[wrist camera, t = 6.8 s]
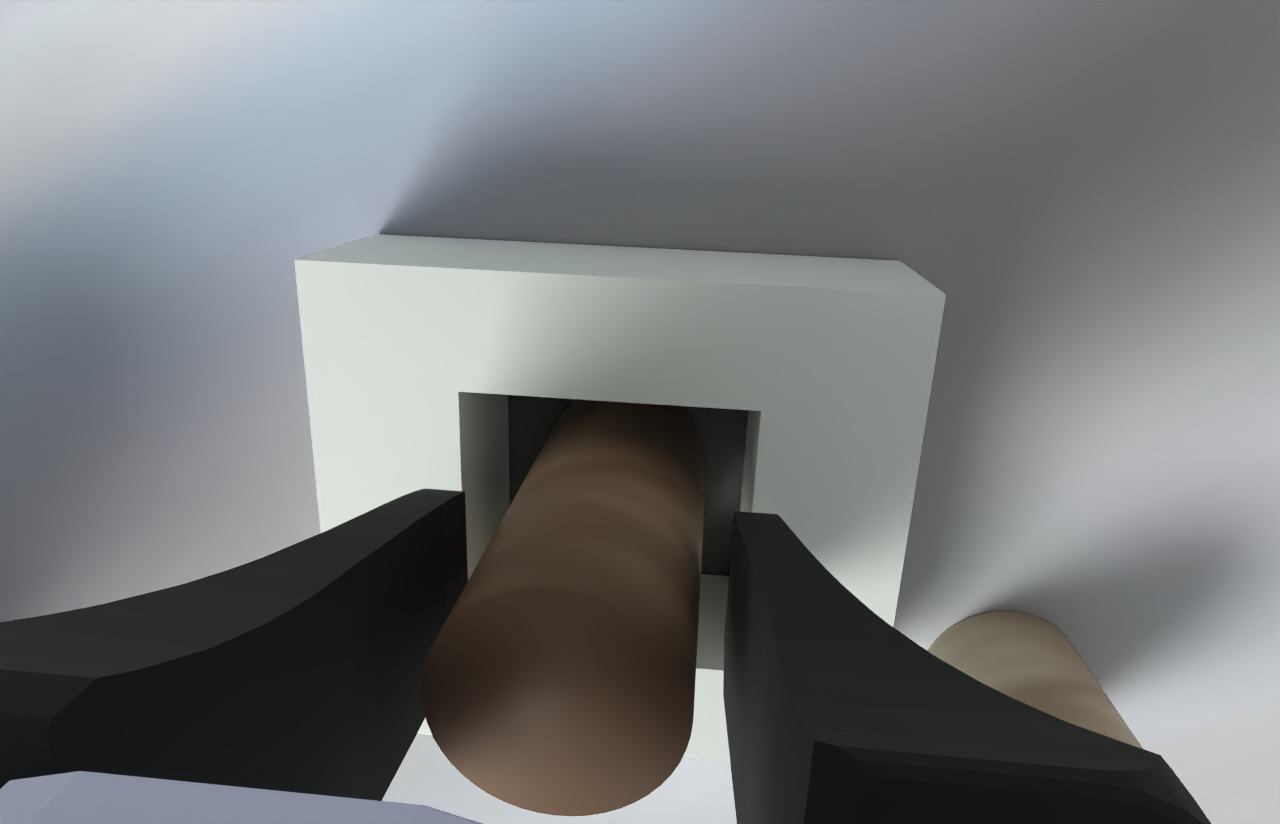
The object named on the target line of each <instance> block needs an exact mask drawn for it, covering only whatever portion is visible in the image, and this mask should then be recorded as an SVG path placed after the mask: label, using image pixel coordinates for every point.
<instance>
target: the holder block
mask: <svg viewBox="0 0 1280 824" xmlns="http://www.w3.org/2000/svg"><path fill="white" fill-rule="evenodd" d="M294 262H295V273H296V283H297V293H298V304H299V314H300V324H301V335H302V345H303V356H304V366H305V376H306V387H307V397H308V407H309V418H310V428H311V439H312V449H313V459H314V470H315V480H316V490H317V501H318V511H319V521H320V532H321V533H323V532H325V531H327V530H330V529H332V528H334V527H336V526H338V525H340V524H342V523H345V522H347V521H349V520H351V519H353V518H355V517H357V516H360V515H362V514H364V513H366V512H368V511H370V510H372V509H375V508H377V507H379V506H381V505H383V504H385V503H388V502H390V501H392V500H394V499H397V498H399V497H401V496H404V495H406V494H409V493H411V492H414V491H417V490H421V489H438V490H452V491H465V505H466V536H467V566H468V580H469V578H470V577H471V575H472V573H473V571H474V569H475V568H476V566H477V564H478V562H479V560H480V559H481V557H482V555H483V553H484V551H485V550H486V548H487V546H488V544H489V542H490V541H491V539H492V537H493V535H494V533H495V532H496V530H497V528H498V526H499V524H500V523H501V521H502V519H503V517H504V515H505V514H506V512H507V510H508V508H509V506H510V505H509V435H508V395H518V396H534V397H549V398H565V399H580V400H596V401H612V402H627V403H643V404H658V405H674V406H690V407H705V408H721V409H736V410H748V421H747V433H746V445H745V456H744V468H743V480H742V492H741V504H740V512H754V513H768V514H778V515H779V516H780V517H781V518H782V519H783V521H784V522H785V523H786V524H787V525H788V526H789V528H790V529H791V530H792V531H793V532H794V534H795V535H796V536H797V537H798V538H799V539H800V541H801V542H802V543H803V544H804V545H805V546H806V547H807V549H808V550H809V551H810V552H811V553H812V554H813V555H814V556H815V558H816V559H817V560H818V561H819V562H820V563H821V564H822V565H823V566H824V567H825V568H826V569H827V570H828V571H829V572H830V573H831V574H832V575H833V576H834V577H835V578H836V579H837V580H838V581H839V582H840V583H841V584H842V585H843V586H844V587H845V588H846V589H847V590H849V591H850V592H851V593H852V594H853V595H854V596H855V597H857V598H858V599H859V600H860V601H861V602H862V603H863V604H865V605H866V606H867V607H868V608H869V609H870V610H871V611H873V612H874V613H875V614H876V615H878V616H879V617H880V618H881V619H883V620H884V621H885V622H886V623H888V624H889V625H891V626H892V627H893V626H894V620H895V614H896V608H897V601H898V595H899V589H900V582H901V576H902V570H903V563H904V557H905V551H906V545H907V538H908V532H909V526H910V519H911V513H912V507H913V500H914V494H915V488H916V482H917V475H918V469H919V463H920V456H921V450H922V444H923V437H924V431H925V425H926V419H927V412H928V406H929V400H930V393H931V387H932V381H933V374H934V368H935V362H936V356H937V349H938V343H939V337H940V330H941V324H942V318H943V312H944V305H945V299H946V294H945V293H943V292H942V291H941V290H939V289H938V288H936V287H935V286H934V285H932V284H931V283H930V282H928V281H927V280H926V279H924V278H923V277H922V276H920V275H919V274H917V273H916V272H915V271H913V270H912V269H911V268H909V267H908V266H907V265H905V264H904V263H903V262H901V261H897V260H877V259H857V258H838V257H818V256H798V255H778V254H759V253H739V252H719V251H700V250H680V249H660V248H641V247H621V246H601V245H581V244H562V243H542V242H522V241H503V240H483V239H463V238H443V237H424V236H404V235H384V234H375V235H372V236H369V237H365V238H362V239H359V240H356V241H353V242H350V243H346V244H343V245H340V246H337V247H334V248H330V249H327V250H324V251H321V252H318V253H314V254H311V255H308V256H305V257H302V258H299V259H295V260H294ZM728 584H729V576H722V575H710V574H701V582H700V602H699V621H698V640H697V659H696V678H695V697H694V716H693V726H692V732H691V737H690V740H689V743H688V746H687V749H686V751H685V753H684V755H683V757H682V759H692V760H703V761H714V762H724V763H730V754H729V745H728V735H727V726H726V716H725V707H724V697H723V679H724V632H725V620H726V608H727V596H728ZM417 734H427V735H432V733H431V731H430V728H429V726H428V724H427V721H426V717H425V719H424V721H423V723H422V725H421V727H420V729H419V731H418V732H417Z"/></svg>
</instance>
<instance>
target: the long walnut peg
mask: <svg viewBox="0 0 1280 824" xmlns="http://www.w3.org/2000/svg"><path fill="white" fill-rule="evenodd" d="M706 468H707V457H706V450H705V446H704V442H703V439H702V436H701V434H700V432H699V429H698V428H697V426H696V424H695V423H694V421H693V420H692V418H691V417H690V416H689V415H688V413H687V412H686V411H685V410H684V409H683V408H682V407H681V406H674V405H658V404H643V403H627V402H612V401H596V400H580V399H577V400H576V401H574V402H573V403H572V404H571V405H570V406H569V407H568V408H567V409H566V410H565V411H564V412H563V413H562V414H561V416H560V417H559V418H558V420H557V422H556V424H555V425H554V427H553V429H552V431H551V433H550V434H549V436H548V438H547V440H546V442H545V443H544V445H543V447H542V449H541V451H540V452H539V454H538V456H537V458H536V460H535V461H534V463H533V465H532V467H531V469H530V470H529V472H528V474H527V476H526V478H525V479H524V481H523V483H522V485H521V487H520V488H519V490H518V492H517V494H516V496H515V497H514V499H513V501H512V503H511V505H510V506H509V508H508V510H507V512H506V514H505V515H504V517H503V519H502V521H501V523H500V524H499V526H498V528H497V530H496V532H495V533H494V535H493V537H492V539H491V541H490V542H489V544H488V546H487V548H486V550H485V551H484V553H483V555H482V557H481V559H480V560H479V562H478V564H477V566H476V568H475V569H474V571H473V573H472V575H471V577H470V578H469V580H468V582H467V584H466V586H465V587H464V589H463V591H462V593H461V595H460V596H459V598H458V600H457V602H456V604H455V605H454V607H453V609H452V611H451V613H450V614H449V616H448V618H447V620H446V622H445V623H444V625H443V627H442V629H441V631H440V632H439V634H438V636H437V638H436V640H435V641H434V643H433V645H432V647H431V649H430V651H429V653H428V656H427V659H426V662H425V664H424V669H423V675H422V684H421V696H422V704H423V710H424V714H425V717H426V721H427V724H428V726H429V728H430V731H431V733H432V735H433V738H434V739H435V741H436V743H437V744H438V746H439V747H440V749H441V751H442V752H443V753H444V755H445V756H446V757H447V758H448V760H449V761H450V762H451V763H452V764H453V765H454V766H455V767H456V768H457V769H458V770H459V771H460V772H461V773H462V774H463V775H464V776H465V777H466V778H467V779H469V780H470V781H471V782H472V783H474V784H475V785H476V786H478V787H479V788H481V789H482V790H484V791H486V792H487V793H489V794H490V795H492V796H494V797H496V798H498V799H500V800H502V801H504V802H507V803H509V804H512V805H515V806H517V807H520V808H523V809H527V810H531V811H534V812H538V813H544V814H551V815H561V816H584V815H593V814H599V813H605V812H609V811H612V810H616V809H620V808H622V807H625V806H627V805H629V804H632V803H634V802H636V801H638V800H640V799H641V798H643V797H645V796H647V795H648V794H650V793H651V792H652V791H654V790H655V789H656V788H658V787H659V786H660V785H661V784H662V783H663V782H664V781H665V780H666V779H667V778H668V777H669V776H670V775H671V774H672V773H673V771H674V770H675V768H676V767H677V766H678V764H679V763H680V761H681V759H682V757H683V755H684V753H685V751H686V749H687V746H688V743H689V740H690V737H691V732H692V726H693V716H694V697H695V678H696V659H697V640H698V621H699V602H700V582H701V563H702V544H703V525H704V506H705V487H706Z"/></svg>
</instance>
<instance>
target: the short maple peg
mask: <svg viewBox="0 0 1280 824" xmlns="http://www.w3.org/2000/svg"><path fill="white" fill-rule="evenodd" d="M928 652H930V653H931V654H933V655H934V656H936V657H938V658H939V659H941V660H943V661H944V662H946V663H948V664H950V665H951V666H953V667H955V668H957V669H958V670H960V671H962V672H964V673H965V674H967V675H969V676H971V677H972V678H974V679H976V680H978V681H980V682H982V683H983V684H985V685H987V686H989V687H991V688H993V689H995V690H997V691H999V692H1001V693H1003V694H1005V695H1007V696H1009V697H1011V698H1014V699H1016V700H1018V701H1020V702H1023V703H1025V704H1027V705H1029V706H1032V707H1034V708H1036V709H1038V710H1041V711H1043V712H1045V713H1047V714H1050V715H1052V716H1054V717H1056V718H1059V719H1061V720H1064V721H1066V722H1069V723H1071V724H1074V725H1077V726H1079V727H1082V728H1085V729H1088V730H1091V731H1093V732H1096V733H1099V734H1102V735H1105V736H1107V737H1110V738H1113V739H1116V740H1119V741H1121V742H1124V743H1127V744H1130V745H1133V746H1135V747H1138V748H1141V749H1143V748H1142V746H1141V745H1140V744H1139V742H1138V741H1137V739H1136V738H1135V736H1134V735H1133V733H1132V732H1131V730H1130V729H1129V727H1128V726H1127V725H1126V723H1125V722H1124V720H1123V719H1122V717H1121V716H1120V714H1119V713H1118V711H1117V710H1116V708H1115V707H1114V706H1113V704H1112V703H1111V701H1110V700H1109V698H1108V697H1107V695H1106V694H1105V692H1104V691H1103V689H1102V688H1101V687H1100V685H1099V684H1098V682H1097V681H1096V679H1095V678H1094V676H1093V675H1092V673H1091V672H1090V670H1089V669H1088V667H1087V666H1086V665H1085V663H1084V662H1083V660H1082V659H1081V657H1080V656H1079V654H1078V653H1077V651H1076V650H1075V648H1074V647H1073V646H1072V644H1071V643H1070V641H1069V640H1068V639H1067V637H1066V636H1065V635H1064V634H1063V633H1062V632H1061V631H1060V630H1059V629H1058V628H1057V627H1055V626H1054V625H1052V624H1051V623H1049V622H1048V621H1046V620H1044V619H1042V618H1039V617H1037V616H1034V615H1031V614H1027V613H1023V612H1017V611H992V612H986V613H981V614H978V615H974V616H971V617H969V618H966V619H964V620H962V621H960V622H958V623H956V624H955V625H953V626H951V627H950V628H949V629H947V630H946V631H945V632H943V633H942V634H941V635H940V636H939V637H938V638H937V639H936V640H935V642H934V643H933V644H932V645H931V647H930V648H929V650H928Z"/></svg>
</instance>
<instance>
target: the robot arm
mask: <svg viewBox="0 0 1280 824" xmlns="http://www.w3.org/2000/svg"><path fill="white" fill-rule="evenodd" d="M467 582H468V566H467V536H466V505H465V491H452V490H438V489H421V490H417V491H414V492H411V493H409V494H406V495H404V496H401V497H399V498H397V499H394V500H392V501H390V502H388V503H385V504H383V505H381V506H379V507H377V508H375V509H372V510H370V511H368V512H366V513H364V514H362V515H360V516H357V517H355V518H353V519H351V520H349V521H347V522H345V523H342V524H340V525H338V526H336V527H334V528H332V529H330V530H327V531H325V532H323V533H321V534H318V535H316V536H313V537H311V538H309V539H306V540H304V541H301V542H299V543H297V544H294V545H292V546H290V547H287V548H285V549H282V550H280V551H278V552H275V553H273V554H270V555H268V556H266V557H263V558H260V559H258V560H255V561H252V562H250V563H247V564H244V565H241V566H238V567H236V568H233V569H230V570H227V571H224V572H221V573H218V574H214V575H211V576H208V577H205V578H202V579H199V580H196V581H192V582H189V583H186V584H182V585H179V586H175V587H171V588H167V589H163V590H159V591H155V592H151V593H147V594H143V595H139V596H134V597H130V598H126V599H122V600H118V601H114V602H110V603H106V604H102V605H97V606H92V607H88V608H82V609H77V610H72V611H66V612H61V613H56V614H51V615H45V616H38V617H32V618H26V619H20V620H14V621H7V622H1V623H0V824H482V823H479V822H475V821H472V820H469V819H466V818H463V817H459V816H456V815H453V814H450V813H447V812H443V811H440V810H437V809H434V808H431V807H427V806H424V805H415V804H405V803H395V802H385V801H382V799H383V797H384V795H385V793H386V791H387V789H388V787H389V785H390V783H391V782H392V780H393V778H394V776H395V774H396V772H397V770H398V768H399V766H400V765H401V763H402V761H403V759H404V757H405V755H406V753H407V751H408V749H409V748H410V746H411V744H412V742H413V740H414V738H415V736H416V734H417V732H418V731H419V729H420V727H421V725H422V723H423V721H424V719H425V714H424V710H423V704H422V696H421V684H422V675H423V669H424V664H425V662H426V659H427V656H428V653H429V651H430V649H431V647H432V645H433V643H434V641H435V640H436V638H437V636H438V634H439V632H440V631H441V629H442V627H443V625H444V623H445V622H446V620H447V618H448V616H449V614H450V613H451V611H452V609H453V607H454V605H455V604H456V602H457V600H458V598H459V596H460V595H461V593H462V591H463V589H464V587H465V586H466V584H467ZM723 697H724V707H725V716H726V726H727V735H728V745H729V754H730V763H731V772H732V781H733V790H734V799H735V808H736V817H737V824H1211V823H1210V821H1209V820H1208V819H1207V817H1206V816H1205V814H1204V813H1203V811H1202V810H1201V808H1200V807H1199V805H1198V804H1197V802H1196V801H1195V800H1194V798H1193V797H1192V796H1191V794H1190V793H1189V792H1188V790H1187V789H1186V788H1185V786H1184V785H1183V784H1182V782H1181V781H1180V780H1179V778H1178V777H1177V776H1176V774H1175V773H1174V772H1173V770H1172V769H1171V768H1170V767H1169V765H1168V764H1167V763H1166V762H1165V761H1164V759H1163V758H1162V757H1161V755H1158V754H1155V753H1152V752H1149V751H1147V750H1144V749H1141V748H1138V747H1135V746H1133V745H1130V744H1127V743H1124V742H1121V741H1119V740H1116V739H1113V738H1110V737H1107V736H1105V735H1102V734H1099V733H1096V732H1093V731H1091V730H1088V729H1085V728H1082V727H1079V726H1077V725H1074V724H1071V723H1069V722H1066V721H1064V720H1061V719H1059V718H1056V717H1054V716H1052V715H1050V714H1047V713H1045V712H1043V711H1041V710H1038V709H1036V708H1034V707H1032V706H1029V705H1027V704H1025V703H1023V702H1020V701H1018V700H1016V699H1014V698H1011V697H1009V696H1007V695H1005V694H1003V693H1001V692H999V691H997V690H995V689H993V688H991V687H989V686H987V685H985V684H983V683H982V682H980V681H978V680H976V679H974V678H972V677H971V676H969V675H967V674H965V673H964V672H962V671H960V670H958V669H957V668H955V667H953V666H951V665H950V664H948V663H946V662H944V661H943V660H941V659H939V658H938V657H936V656H934V655H933V654H931V653H930V652H928V651H927V650H925V649H923V648H922V647H920V646H919V645H917V644H916V643H915V642H913V641H912V640H910V639H909V638H908V637H906V636H905V635H903V634H902V633H900V632H899V631H898V630H896V629H895V628H893V627H892V626H891V625H889V624H888V623H886V622H885V621H884V620H883V619H881V618H880V617H879V616H878V615H876V614H875V613H874V612H873V611H871V610H870V609H869V608H868V607H867V606H866V605H865V604H863V603H862V602H861V601H860V600H859V599H858V598H857V597H855V596H854V595H853V594H852V593H851V592H850V591H849V590H847V589H846V588H845V587H844V586H843V585H842V584H841V583H840V582H839V581H838V580H837V579H836V578H835V577H834V576H833V575H832V574H831V573H830V572H829V571H828V570H827V569H826V568H825V567H824V566H823V565H822V564H821V563H820V562H819V561H818V560H817V559H816V558H815V556H814V555H813V554H812V553H811V552H810V551H809V550H808V549H807V547H806V546H805V545H804V544H803V543H802V542H801V541H800V539H799V538H798V537H797V536H796V535H795V534H794V532H793V531H792V530H791V529H790V528H789V526H788V525H787V524H786V523H785V522H784V521H783V519H782V518H781V517H780V516H779V515H778V514H768V513H754V512H740V511H734V523H733V535H732V547H731V559H730V571H729V584H728V596H727V608H726V620H725V632H724V679H723Z"/></svg>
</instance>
